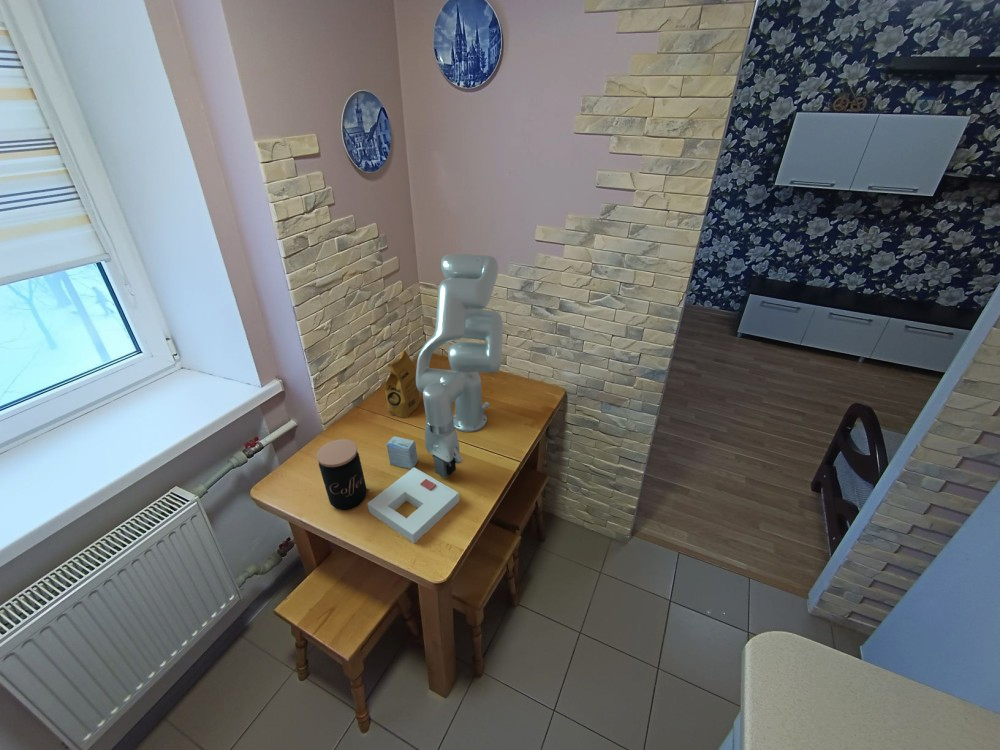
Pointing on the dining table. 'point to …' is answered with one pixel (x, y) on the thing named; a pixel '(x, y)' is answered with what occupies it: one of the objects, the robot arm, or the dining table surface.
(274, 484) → the dining table surface
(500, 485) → the dining table surface
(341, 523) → the dining table surface
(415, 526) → the socket plate
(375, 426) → the dining table surface
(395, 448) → the medicine box
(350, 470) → the coffee jar
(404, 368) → the coffee package
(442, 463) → the plug
